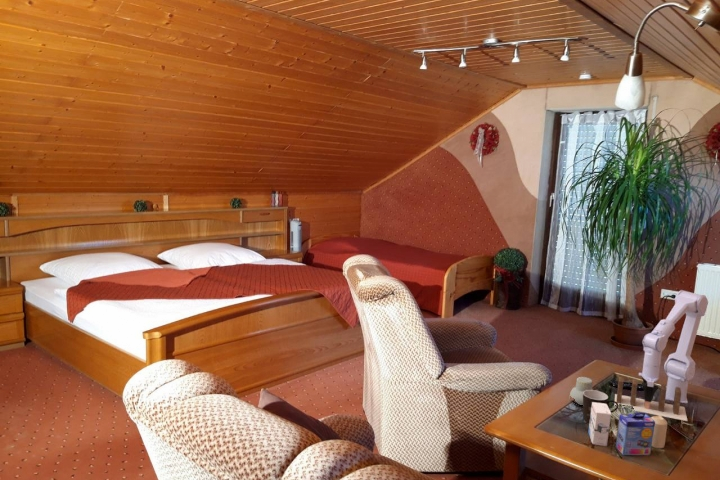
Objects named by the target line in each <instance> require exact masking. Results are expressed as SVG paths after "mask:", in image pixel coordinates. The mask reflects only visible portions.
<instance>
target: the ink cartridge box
mask: <svg viewBox="0 0 720 480" xmlns="http://www.w3.org/2000/svg"><path fill="white" fill-rule="evenodd" d="M654 426H655V421H654V420H653V419H652V418H651V416H649V415H648V413H644V412H634V413H633V414H632V413H622V414H619V417H618V425H617V434H616V441H615V442H616V443H615V448H616V449H617V450H618V451H619V452H620V454H621V455H623V456H650V455H651V451H652V439H653V433H654Z"/></svg>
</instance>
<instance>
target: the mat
mask: <svg viewBox="0 0 720 480" xmlns="http://www.w3.org/2000/svg"><path fill="white" fill-rule="evenodd" d="M630 399H631V396H628V395H623V394H622V398H621V404H622V405H630ZM614 401H616V402H617V393H614ZM644 401H645V398H644V399H643V398H640V397H639V398H638V397H636V401H635V406H633V408H634V410H635V412H638V413H646V414H650V415H653V416H657V415H660V416H662V417H663V418H664V417H665V418H671V419H675V420H679V421H680V420H681V421H684V422H688V418H687V413H686V412H687V411H686V408H685V406H680V407H679V414H678V415H676V414H674V413H673V404H669V403H665V405H664V412H661V411H659V407H658V405H659V401H653V400H652V401H651V402H650V405H649V409H645V408H644ZM613 403H614V402H613ZM619 404H620V403H618V405H619ZM615 405H616V403H614V405H613V406H615ZM634 410H633V411H634Z"/></svg>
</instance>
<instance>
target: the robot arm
mask: <svg viewBox="0 0 720 480" xmlns="http://www.w3.org/2000/svg"><path fill="white" fill-rule="evenodd" d="M708 305H709V301H708V298H707V296H706V295H704V294H699V293H694V292H690V291H688V290H683V289H680V290H679V291H678V292H677V293H676V296H675V297H674V306H673V307H672V308H671V310H670V312H669V313H668V315H667V316H666V318H665V319H660V321H659V322H658V323H657V325H655V327H654V328H653V330H652V331H651V332H649V333H646V334H645V335H644V337H643V339H642V346H643V349H642V350H643V352H644V356H643V364H642V372H638V376H639V377H641V379H642V382H641V387H642V388H643V391H644V392H643V395H644V400H645V401H647V402H651V401H653V399H654V395H655V393H656V392H657V390H658V389H659V385H655V383H656V382H657V381H658V380H660V368H661V361H662V352H663V351H664V350H665V349H666V347H667V343H668V341H669V337H671V335H672V333H673V332H674V331H675V330H676V327H675V324H677V322H678V321H679V320H681V318H683V316H684V315H685V320H684V323H683V326H682V329H681V333H680V336H679V339H678V343H677V348H676V350H675V352H672V353H670V354H669V355H668V357H667V359H666V360H665V361H664V366H663V368H664V372H665V373H666V375H667V382H666V397H665V401H666V400H667V401H673V402H674V395H675V388H676V387H679V388H680V389H681V399H680V403H682V404H683V403H684V404H688V398H687V393H688V385H689V381H691V380H692V379H693V378H694V376H695V373H696V362H695V361H694V359H693V358H692V357H691V355H692V351H693V347H694V344H695V341H696V337H697V333H698V330H699V327H700V323H701V319H702V317H705V315H706V312H707V308H708ZM647 382H648V383H647Z"/></svg>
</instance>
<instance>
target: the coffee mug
mask: <svg viewBox="0 0 720 480" xmlns="http://www.w3.org/2000/svg"><path fill="white" fill-rule="evenodd" d="M592 402H596V403H604V404H607V406H608V405H609V404H610V403H616V405H617V407H615V408H614V409H613V410H610V412H611V414H613V413H614V412H615V411H617V410H618V408H619V407H618V403H617V402H616V401H615V400H609V396H608V394H606V393H605V392H603V391H600V390H595V389H592V390H585V391H583V406H582V408H583V409H582V410H583V415H582V416H583V421H584V420H585V422H586V423H588V424H589V423H590V415H591V407H592Z"/></svg>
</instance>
